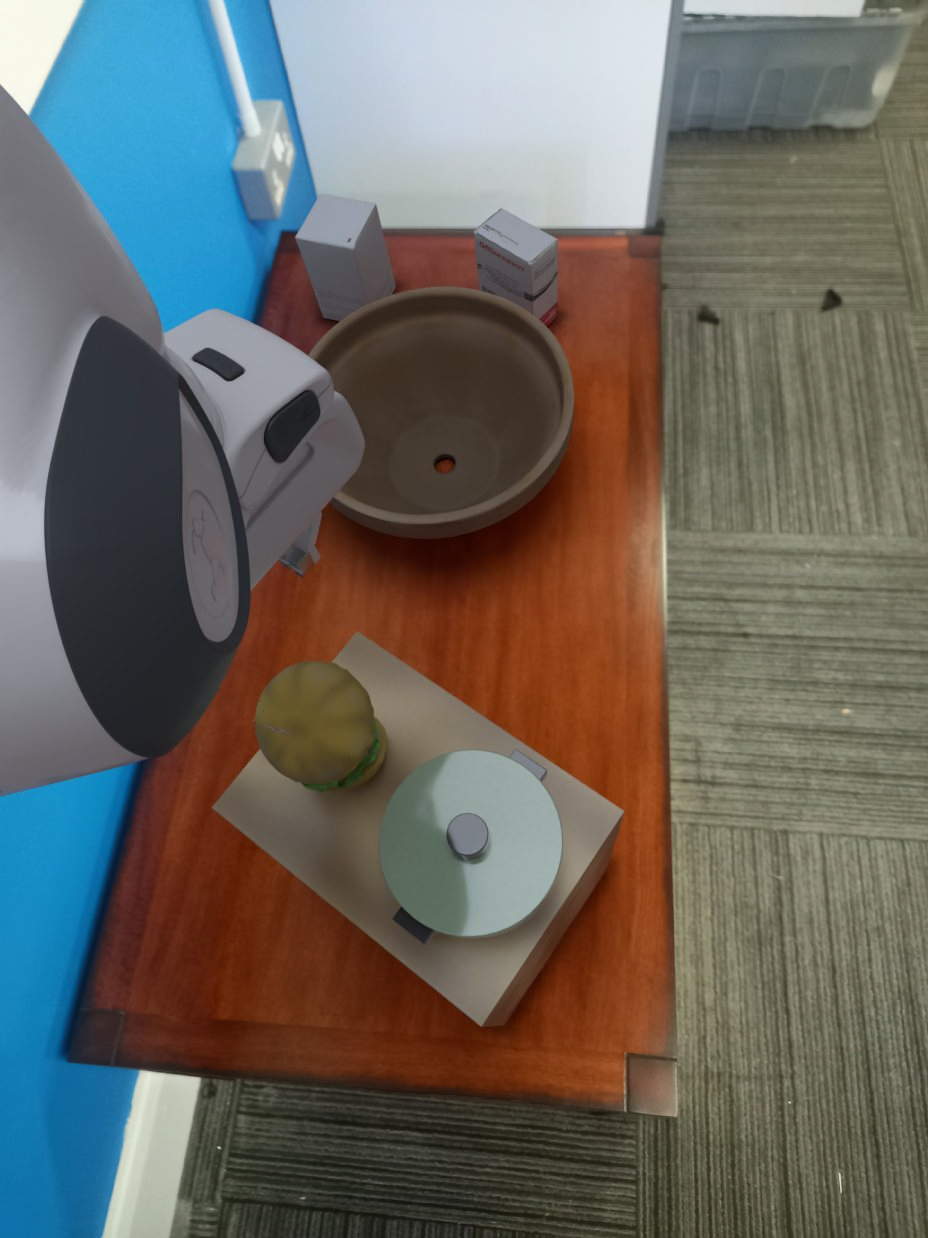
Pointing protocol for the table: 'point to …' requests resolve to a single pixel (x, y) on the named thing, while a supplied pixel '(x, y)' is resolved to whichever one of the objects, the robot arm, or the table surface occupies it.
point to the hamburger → (320, 727)
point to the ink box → (518, 264)
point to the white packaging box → (345, 255)
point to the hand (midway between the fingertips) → (243, 629)
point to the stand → (350, 825)
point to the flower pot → (448, 409)
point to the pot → (470, 845)
